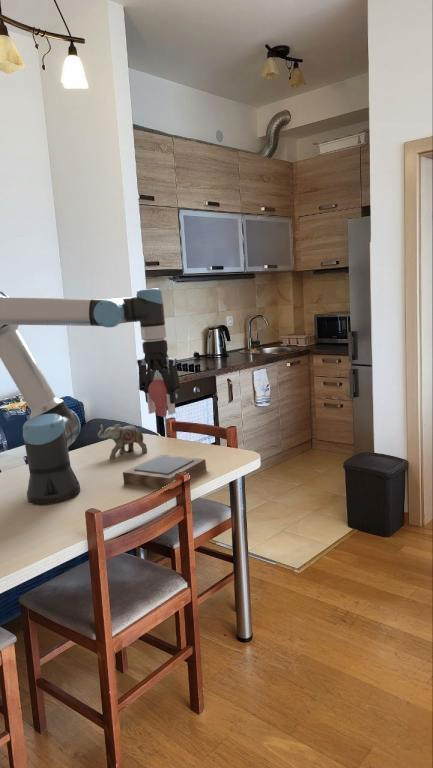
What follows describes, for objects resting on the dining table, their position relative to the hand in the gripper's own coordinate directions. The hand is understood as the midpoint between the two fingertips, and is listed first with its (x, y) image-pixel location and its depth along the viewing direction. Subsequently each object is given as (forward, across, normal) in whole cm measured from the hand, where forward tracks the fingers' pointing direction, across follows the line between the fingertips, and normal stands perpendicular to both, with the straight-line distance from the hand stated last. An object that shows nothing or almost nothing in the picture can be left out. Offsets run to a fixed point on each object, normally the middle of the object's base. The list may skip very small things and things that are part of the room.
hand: (162, 413), depth 179 cm
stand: (+19, -3, +5) cm, 20 cm away
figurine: (+19, +27, -11) cm, 35 cm away
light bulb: (+1, 0, 0) cm, 1 cm away
